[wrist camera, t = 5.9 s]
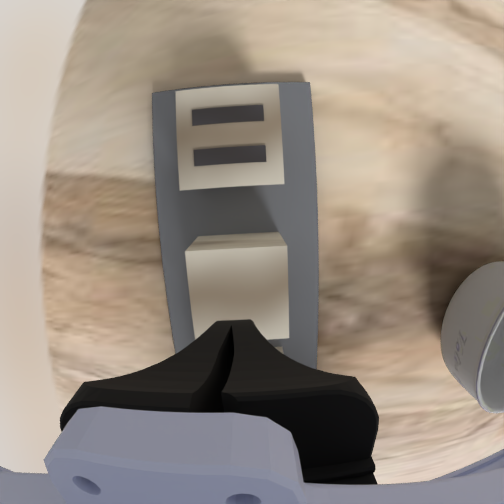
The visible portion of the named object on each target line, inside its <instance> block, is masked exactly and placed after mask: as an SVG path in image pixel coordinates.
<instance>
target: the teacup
mask: <svg viewBox="0 0 504 504" xmlns="http://www.w3.org/2000/svg"><path fill="white" fill-rule="evenodd" d="M441 351H442V356H443V359H444V362H445V364H446V366H447V368H448V370H449V371H450V373H451V374H452V375H453V376H454V378H455V379H456V380H457V381H458V382H459V383H460V384H461V385H462V386H463V387H464V388H465V389H466V390H467V391H468V392H469V393H470V394H471V395H472V396H473V397H474V398H475V399H476V400H477V401H478V403H479V404H480V406H481V407H482V408H483V409H484V410H485V411H488V412H489V413H502V412H504V261H498V262H492V263H489V264H486V265H484V266H482V267H480V268H478V269H477V270H475V271H474V272H473V273H471V274H470V275H469V276H468V277H467V278H466V279H465V280H464V281H463V282H462V284H461V285H460V286H459V288H458V289H457V291H456V292H455V294H454V295H453V297H452V299H451V301H450V303H449V305H448V308H447V310H446V313H445V316H444V320H443V324H442V329H441Z"/></svg>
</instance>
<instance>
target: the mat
mask: <svg viewBox="0 0 504 504" xmlns="http://www.w3.org/2000/svg"><path fill="white" fill-rule="evenodd" d="M257 84H278V86H279V99H280V114H281V130H282V147H283V165H284V184H275V185H254V186H236V187H220V188H206V189H193V190H181V191H180V187H179V171H178V152H177V129H176V92H175V91H182V90H190V89H200V88H210V87H222V86H237V85H257ZM152 115H153V147H154V168H155V184H156V198H157V211H158V223H159V233H160V243H161V253H162V262H163V270H164V278H165V286H166V294H167V301H168V308H169V315H170V321H171V328H172V334H173V340H174V346H175V352H176V353H178V352H180V351H181V350H182V349H184V348H185V347H186V346H188V345H189V344H190V343H192V342H193V341H194V340H195V334H194V327H193V319H192V311H191V303H190V294H189V286H188V276H187V267H186V257H185V251H186V250H187V248H188V247H189V246H190V245H191V244H192V243H193V242H194V241H195V239H196V238H197V237H198V236H212V235H229V234H247V233H265V232H279V233H280V235H281V236H282V238H283V240H284V241H285V243H286V245H287V255H288V295H289V338H285V339H270V340H268V342H269V343H271V344H272V345H273V346H274V347H282V348H283V353H284V355H286V356H288V357H289V358H291V359H293V360H295V361H297V362H299V363H301V364H303V365H306V366H308V367H311V368H314V369H316V366H317V339H318V279H319V268H318V207H317V180H316V159H315V142H314V126H313V113H312V100H311V88H310V82H264V83H241V84H225V85H213V86H202V87H193V88H184V89H176V90H169V91H162V92H155V93H152Z"/></svg>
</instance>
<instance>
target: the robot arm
mask: <svg viewBox="0 0 504 504" xmlns="http://www.w3.org/2000/svg"><path fill="white" fill-rule="evenodd" d="M378 424H379V416H378V413H377V410H376V408H375V406H374V404H373V402H372V400H371V398H370V396H369V395H368V394H367V392H366V391H365V389H364V388H363V387H362V385H361V384H360V383H359V382H358V380H357V379H356V377H352V376H345V375H338V374H332V373H327V372H324V371H320V370H317V369H314V368H311V367H308V366H306V365H303V364H301V363H299V362H297V361H295V360H293V359H291V358H289V357H288V356H286V355H284V354H283V353H281V352H280V351H278V350H277V349H276V348H275V347H274V346H273V345H272V344H271V343H269V342H268V340H267V339H266V338H265V337H264V336H263V335H262V334H261V333H260V331H259V330H258V329H257V327H256V326H255V324H254V322H253V321H252V320H251V319H245V320H222V321H216V322H215V323H213V324H212V325H211V326H210V327H209V328H208V329H207V330H206V331H205V332H204V333H203V334H201V335H200V336H199V337H198V338H197V339H196V340H194V341H193V342H192V343H190V344H189V345H188V346H186V347H185V348H184V349H182V350H181V351H180V352H178V353H176V354H175V355H173V356H171V357H169V358H168V359H166V360H164V361H162V362H160V363H158V364H155V365H153V366H150V367H148V368H145V369H143V370H140V371H137V372H134V373H131V374H127V375H123V376H119V377H115V378H110V379H103V380H96V381H89V382H84V383H83V384H82V385H81V387H80V388H79V389H78V391H77V392H76V393H75V395H74V396H73V397H72V399H71V400H70V401H69V403H68V404H67V406H66V407H65V408H64V410H63V412H62V414H61V417H60V428H61V431H62V433H61V434H60V435H59V437H58V438H57V440H56V441H55V443H54V445H53V446H52V448H51V449H50V451H49V452H48V454H47V456H46V457H45V459H44V462H45V465H46V468H47V471H48V474H42V473H18V472H13V471H10V470H8V469H6V468H3V467H1V466H0V504H504V449H503V450H501V451H499V452H497V453H495V454H493V455H490V456H488V457H486V458H484V459H482V460H480V461H478V462H475V463H473V464H471V465H469V466H466V467H464V468H461V469H459V470H456V471H454V472H451V473H449V474H446V475H444V476H441V477H438V478H435V479H433V480H430V481H423V482H412V483H399V484H377V482H376V479H375V477H374V474H373V472H375V464H374V462H373V459H372V457H371V455H372V451H373V447H374V443H375V439H376V435H377V431H378Z"/></svg>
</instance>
